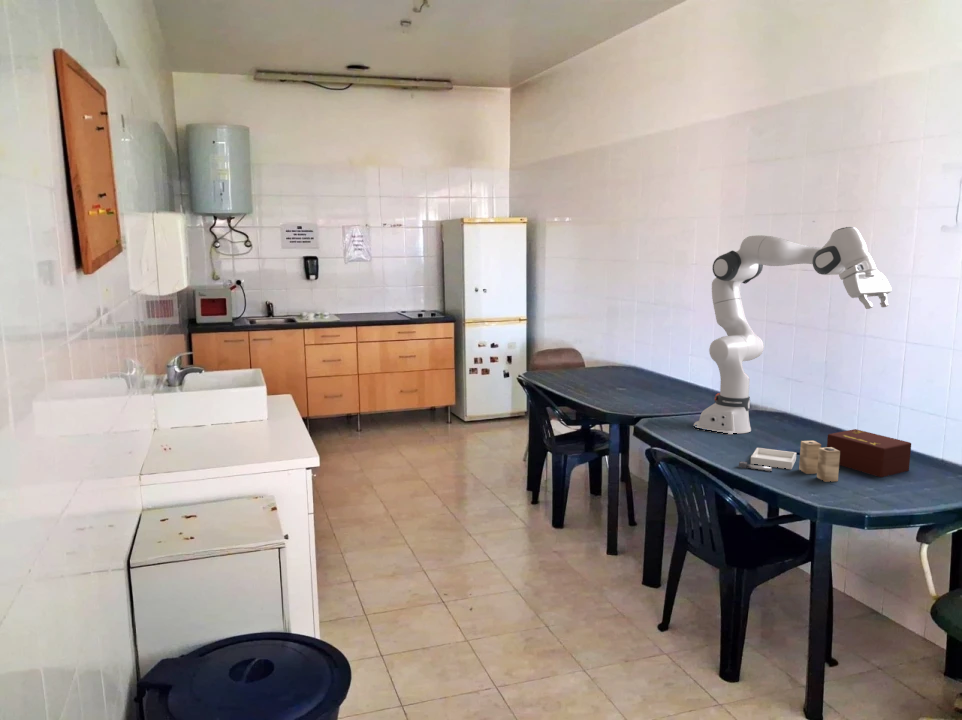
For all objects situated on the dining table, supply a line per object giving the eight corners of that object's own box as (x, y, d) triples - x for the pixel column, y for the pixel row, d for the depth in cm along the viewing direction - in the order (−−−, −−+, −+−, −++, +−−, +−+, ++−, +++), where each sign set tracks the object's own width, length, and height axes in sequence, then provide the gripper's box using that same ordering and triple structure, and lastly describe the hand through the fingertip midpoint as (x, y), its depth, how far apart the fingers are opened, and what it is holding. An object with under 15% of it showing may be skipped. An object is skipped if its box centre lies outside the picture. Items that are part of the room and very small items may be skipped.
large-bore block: (816, 477, 239) (818, 447, 237) (829, 476, 240) (831, 447, 238) (824, 481, 235) (826, 451, 233) (837, 481, 235) (840, 450, 234)
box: (912, 470, 246) (914, 441, 245) (881, 478, 239) (883, 448, 237) (855, 454, 264) (857, 427, 263) (825, 461, 257) (827, 433, 255)
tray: (750, 463, 254) (750, 457, 253) (756, 454, 265) (757, 447, 265) (791, 469, 247) (791, 462, 247) (796, 459, 259) (796, 452, 258)
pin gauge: (738, 467, 249) (738, 462, 249) (739, 466, 251) (740, 461, 251) (771, 472, 244) (771, 467, 244) (771, 470, 246) (772, 465, 246)
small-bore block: (799, 469, 247) (800, 440, 245) (811, 469, 248) (813, 440, 246) (806, 473, 243) (808, 444, 241) (819, 473, 243) (821, 444, 242)
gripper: (870, 273, 256) (886, 309, 252) (835, 275, 245) (851, 313, 242) (886, 265, 251) (903, 302, 247) (852, 266, 240) (868, 305, 236)
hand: (877, 307), depth 244 cm, fingers open, 8 cm apart
